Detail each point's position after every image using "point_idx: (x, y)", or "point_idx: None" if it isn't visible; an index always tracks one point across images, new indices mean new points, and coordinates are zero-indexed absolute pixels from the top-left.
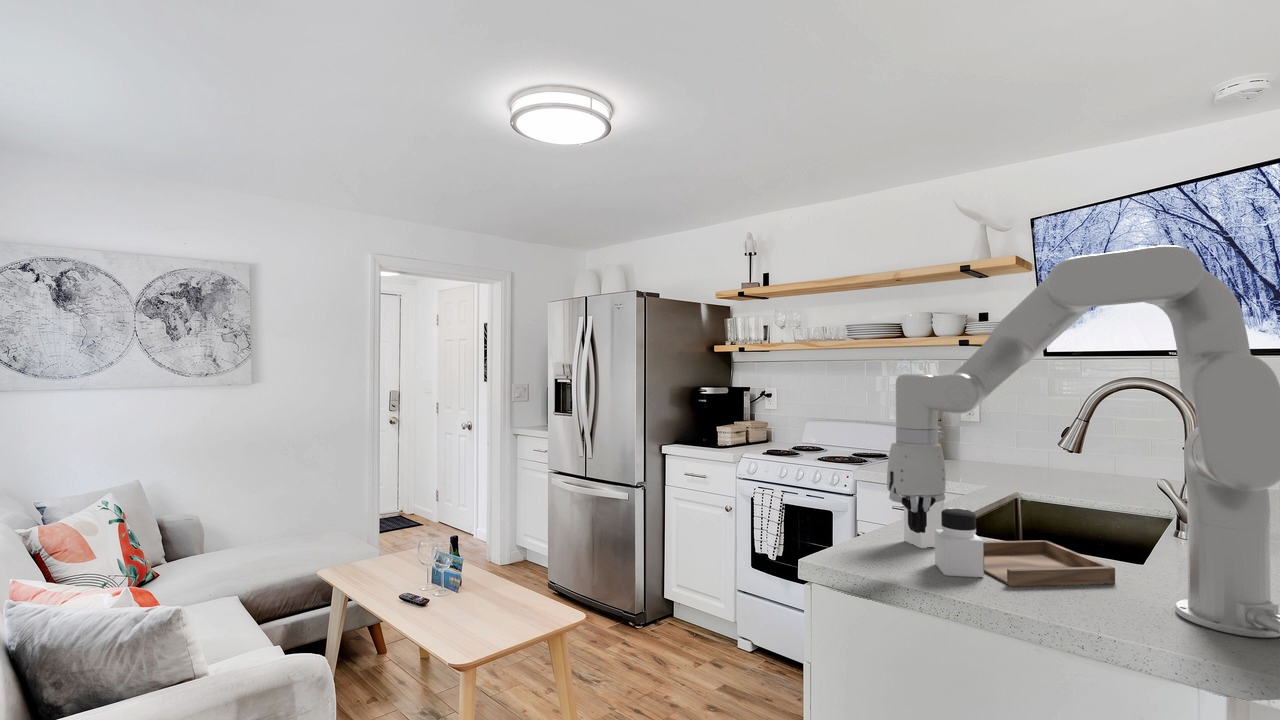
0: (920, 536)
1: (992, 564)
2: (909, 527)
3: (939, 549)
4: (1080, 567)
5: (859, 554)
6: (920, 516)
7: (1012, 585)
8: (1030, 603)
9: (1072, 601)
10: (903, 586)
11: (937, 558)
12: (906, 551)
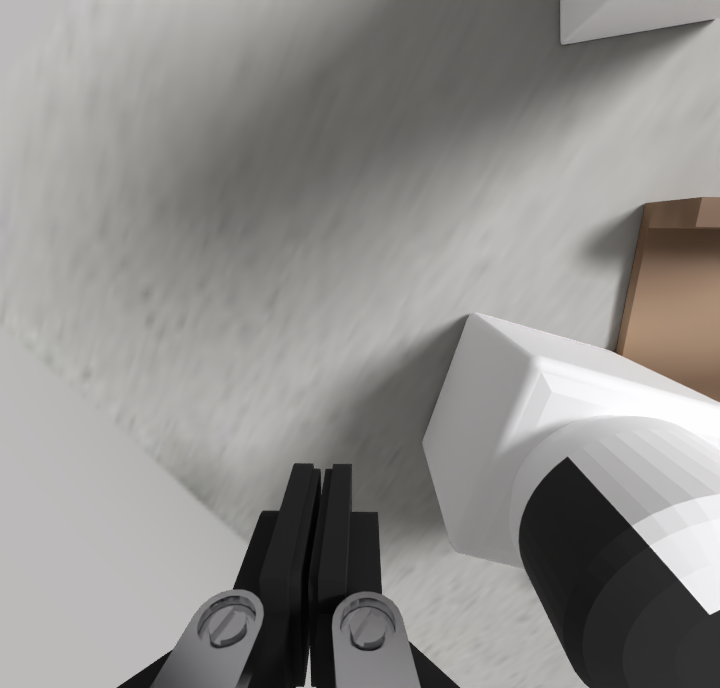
0: (598, 5)
1: (695, 372)
2: (294, 465)
3: (460, 426)
4: None
5: (176, 126)
6: (306, 662)
7: None
8: (526, 656)
9: None
10: (220, 520)
11: (460, 370)
12: (449, 93)
